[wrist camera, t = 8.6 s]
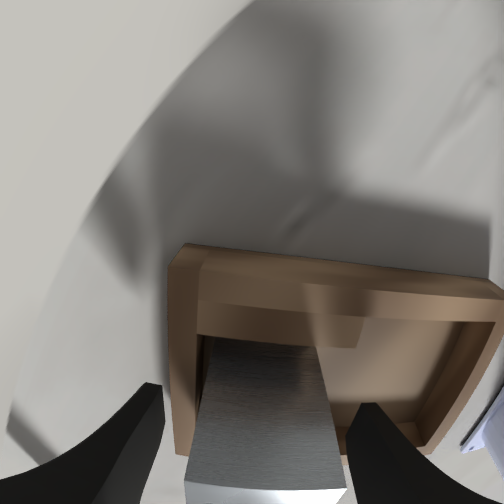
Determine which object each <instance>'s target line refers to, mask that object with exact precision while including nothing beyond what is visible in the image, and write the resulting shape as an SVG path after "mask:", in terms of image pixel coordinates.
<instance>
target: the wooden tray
mask: <svg viewBox="0 0 504 504" xmlns="http://www.w3.org/2000/svg"><path fill="white" fill-rule="evenodd" d="M503 335H504V290H503V289H501V288H500V287H499V286H497V285H496V284H494V283H493V282H492V281H490V280H489V279H480V278H472V277H464V276H455V275H447V274H439V273H430V272H422V271H414V270H405V269H397V268H388V267H380V266H372V265H363V264H355V263H346V262H338V261H330V260H321V259H313V258H304V257H296V256H288V255H279V254H271V253H262V252H254V251H245V250H237V249H228V248H220V247H212V246H203V245H195V244H186V243H185V244H184V246H183V247H182V248H181V250H180V251H179V252H178V254H177V255H176V256H175V258H174V259H173V260H172V262H171V263H170V264H169V266H168V352H169V376H170V393H171V408H172V421H173V432H174V443H175V453H176V454H177V455H183V456H189V454H190V450H191V445H192V440H193V436H194V431H195V426H196V422H197V417H198V413H199V408H200V404H201V399H202V395H203V390H204V386H205V381H206V377H207V372H208V368H209V363H210V359H211V355H212V350H213V346H214V342H215V337H223V338H231V339H240V340H249V341H258V342H268V343H278V344H289V345H302V346H316V349H317V353H318V357H319V362H320V366H321V370H322V374H323V379H324V383H325V387H326V392H327V396H328V400H329V405H330V409H331V414H332V418H333V423H334V428H335V432H336V437H337V442H338V446H339V451H340V456H341V461H342V465H349V464H348V460H347V452H346V441H345V435H346V433H347V431H348V429H349V427H350V425H351V423H352V421H353V419H354V417H355V415H356V413H357V411H358V409H359V407H360V405H361V403H369V402H376V403H377V404H378V405H379V406H380V407H381V409H382V410H383V411H384V412H385V413H386V415H387V416H388V417H389V418H390V419H391V420H392V422H393V423H394V424H395V425H396V426H397V428H398V429H399V430H400V431H401V432H402V433H403V434H404V435H405V437H406V438H407V439H408V440H409V441H410V442H411V443H412V444H413V445H414V446H415V447H416V448H417V449H418V450H419V451H420V452H421V453H422V454H423V455H428V454H431V453H432V452H433V451H434V449H435V448H436V447H437V446H438V444H439V443H440V442H441V440H442V439H443V437H444V436H445V435H446V433H447V432H448V431H449V429H450V428H451V426H452V425H453V423H454V422H455V420H456V419H457V417H458V416H459V414H460V413H461V411H462V410H463V408H464V407H465V405H466V404H467V402H468V400H469V399H470V397H471V395H472V394H473V392H474V390H475V389H476V387H477V385H478V384H479V382H480V380H481V378H482V377H483V375H484V373H485V371H486V369H487V367H488V365H489V364H490V362H491V360H492V358H493V356H494V354H495V352H496V350H497V348H498V346H499V343H500V341H501V339H502V337H503Z"/></svg>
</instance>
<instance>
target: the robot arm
mask: <svg viewBox="0 0 504 504" xmlns="http://www.w3.org/2000/svg"><path fill="white" fill-rule="evenodd" d="M164 425H165V412H164V401H163V390H162V385H157V384H152V383H147V382H146V383H144V384H143V385H142V386H141V387H140V388H139V389H138V390H137V392H136V393H135V394H134V395H133V396H132V397H131V398H130V399H129V400H128V401H127V402H126V403H125V404H124V405H123V406H122V407H121V408H120V409H119V410H118V411H117V412H116V413H115V414H114V415H113V416H112V417H111V418H110V419H109V420H108V421H107V422H106V423H104V424H103V425H102V426H101V427H100V428H99V429H97V430H96V431H95V432H94V433H93V434H91V435H90V436H89V437H87V438H86V439H85V440H83V441H82V442H81V443H79V444H78V445H76V446H75V447H73V448H72V449H70V450H69V451H67V452H65V453H64V454H62V455H60V456H59V457H57V458H55V459H53V460H51V461H49V462H47V463H45V464H43V465H40V466H38V467H36V468H34V469H31V470H29V471H26V472H24V473H21V474H18V475H14V476H11V477H8V478H4V479H1V480H0V504H140V499H141V496H142V493H143V489H144V487H145V484H146V481H147V479H148V476H149V473H150V470H151V468H152V465H153V462H154V460H155V457H156V454H157V452H158V449H159V446H160V443H161V439H162V434H163V430H164ZM345 441H346V452H347V460H348V464H349V469H350V473H351V477H352V481H353V486H354V490H355V494H356V499H357V503H358V504H502V503H499V502H496V501H494V500H491V499H488V498H486V497H484V496H481V495H479V494H477V493H475V492H473V491H471V490H470V489H468V488H466V487H464V486H463V485H461V484H460V483H458V482H456V481H455V480H453V479H452V478H450V477H449V476H448V475H446V474H445V473H444V472H442V471H441V470H440V469H439V468H437V467H436V466H435V465H434V464H433V463H431V462H430V461H429V460H428V459H427V458H426V457H425V456H424V455H423V454H422V453H421V452H420V451H419V450H418V449H417V448H416V447H415V446H414V445H413V444H412V443H411V442H410V441H409V440H408V439H407V438H406V437H405V435H404V434H403V433H402V432H401V431H400V430H399V429H398V428H397V426H396V425H395V424H394V423H393V422H392V420H391V419H390V418H389V417H388V416H387V415H386V413H385V412H384V411H383V410H382V409H381V407H380V406H379V405H378V404H377V403H376V402H369V403H361V405H360V407H359V409H358V411H357V413H356V415H355V417H354V419H353V421H352V423H351V425H350V427H349V429H348V431H347V433H346V435H345ZM483 447H486V449H487V450H488V452H489V454H490V456H491V458H492V459H493V461H494V463H495V465H496V467H497V469H498V471H499V473H500V475H501V477H502V479H503V481H504V386H503V388H502V390H501V391H500V393H499V395H498V396H497V398H496V399H495V401H494V403H493V404H492V406H491V407H490V409H489V410H488V412H487V413H486V415H485V416H484V417H483V419H482V420H481V422H480V423H479V425H478V426H477V427H476V429H475V430H474V431H473V433H472V434H471V435H470V437H469V438H468V439H467V441H466V442H465V443H464V445H463V446H462V447H461V449H460V451H461V453H467V452H470V451H474V450H477V449H480V448H483Z"/></svg>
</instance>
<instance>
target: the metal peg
mask: <svg viewBox="0 0 504 504" xmlns="http://www.w3.org/2000/svg"><path fill="white" fill-rule="evenodd" d="M184 487H185V496H186V504H335V503H336V502H337V501H338V499H339V498H340V497H341V495H342V494H343V493H344V492H345V490H346V489H347V486H346V481H345V476H344V471H343V466H342V461H341V456H340V451H339V446H338V442H337V437H336V432H335V428H334V423H333V418H332V414H331V409H330V405H329V400H328V396H327V392H326V387H325V383H324V379H323V374H322V370H321V366H320V362H319V357H318V353H317V349H316V346H302V345H289V344H278V343H268V342H258V341H249V340H240V339H231V338H223V337H215V342H214V346H213V350H212V355H211V359H210V363H209V368H208V372H207V377H206V381H205V386H204V390H203V395H202V399H201V404H200V408H199V413H198V417H197V422H196V426H195V431H194V436H193V440H192V445H191V450H190V454H189V459H188V464H187V468H186V473H185V478H184Z"/></svg>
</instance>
